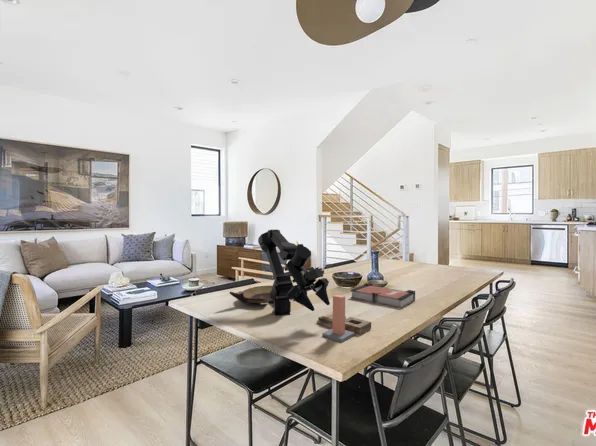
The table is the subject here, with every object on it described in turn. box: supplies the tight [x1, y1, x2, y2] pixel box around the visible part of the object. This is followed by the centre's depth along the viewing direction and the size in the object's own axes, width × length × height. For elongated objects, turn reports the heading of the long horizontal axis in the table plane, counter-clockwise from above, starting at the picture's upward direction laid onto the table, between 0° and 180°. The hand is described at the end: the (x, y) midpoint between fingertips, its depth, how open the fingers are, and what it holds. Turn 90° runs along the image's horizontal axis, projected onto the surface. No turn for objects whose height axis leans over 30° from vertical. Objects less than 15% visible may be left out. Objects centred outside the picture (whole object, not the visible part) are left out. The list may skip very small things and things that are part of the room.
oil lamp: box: [229, 285, 274, 304], centre depth 158 cm, size 22×30×8 cm
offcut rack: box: [316, 311, 372, 335], centre depth 126 cm, size 19×10×3 cm, turn 49°
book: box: [350, 282, 416, 309], centre depth 163 cm, size 26×18×5 cm
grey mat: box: [322, 328, 355, 343], centre depth 115 cm, size 8×8×1 cm
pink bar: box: [331, 294, 346, 335], centre depth 115 cm, size 4×2×13 cm
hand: (321, 307), depth 120 cm, fingers open, 9 cm apart
